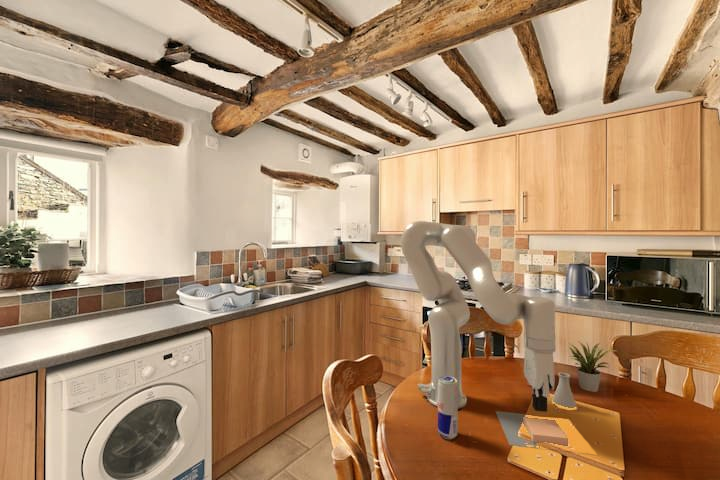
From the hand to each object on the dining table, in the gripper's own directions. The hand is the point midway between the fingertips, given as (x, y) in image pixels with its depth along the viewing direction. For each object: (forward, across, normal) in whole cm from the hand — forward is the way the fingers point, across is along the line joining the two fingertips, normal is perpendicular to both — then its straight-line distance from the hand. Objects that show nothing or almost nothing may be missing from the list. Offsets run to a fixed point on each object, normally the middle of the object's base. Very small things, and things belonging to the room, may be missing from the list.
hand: (539, 409), depth 86 cm
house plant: (+6, -30, +27) cm, 41 cm away
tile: (+4, -1, 0) cm, 4 cm away
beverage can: (+6, +7, -25) cm, 27 cm away
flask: (+6, -15, +12) cm, 20 cm away
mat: (+6, +1, 0) cm, 6 cm away
